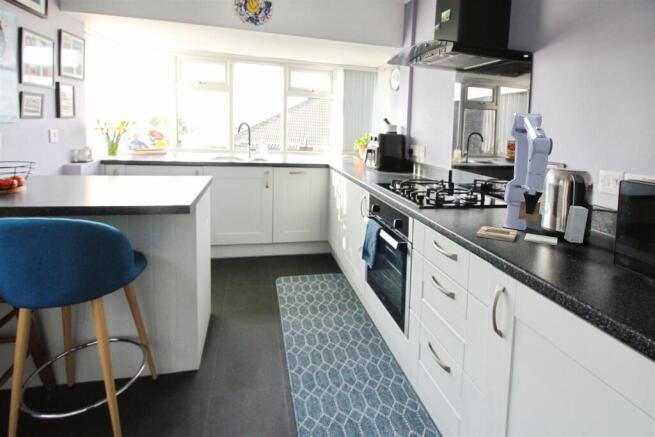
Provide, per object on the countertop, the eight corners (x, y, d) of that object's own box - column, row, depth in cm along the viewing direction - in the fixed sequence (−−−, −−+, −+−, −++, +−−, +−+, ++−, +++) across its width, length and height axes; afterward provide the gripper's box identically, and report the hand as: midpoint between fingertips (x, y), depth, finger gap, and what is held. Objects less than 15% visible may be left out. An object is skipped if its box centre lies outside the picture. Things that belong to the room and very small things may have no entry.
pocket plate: (482, 228, 166) (483, 225, 166) (517, 234, 161) (517, 230, 160) (476, 236, 154) (476, 232, 154) (513, 241, 149) (513, 238, 148)
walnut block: (519, 217, 157) (521, 200, 155) (538, 219, 154) (540, 202, 153) (518, 218, 153) (520, 201, 152) (537, 221, 150) (540, 203, 149)
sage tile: (526, 234, 160) (526, 233, 160) (557, 239, 156) (557, 237, 156) (524, 240, 152) (524, 238, 151) (556, 245, 147) (556, 243, 147)
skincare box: (582, 243, 152) (588, 209, 150) (569, 242, 153) (575, 208, 150) (576, 239, 158) (582, 206, 155) (563, 238, 159) (569, 205, 156)
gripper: (525, 171, 158) (519, 208, 161) (521, 174, 146) (515, 214, 149) (547, 173, 155) (541, 211, 158) (544, 176, 143) (538, 217, 145)
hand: (530, 213), depth 153 cm, fingers closed on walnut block, 4 cm apart
